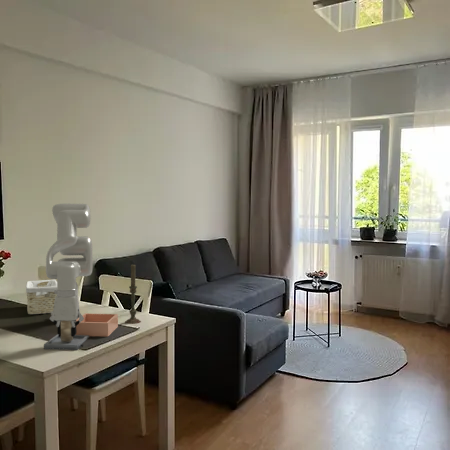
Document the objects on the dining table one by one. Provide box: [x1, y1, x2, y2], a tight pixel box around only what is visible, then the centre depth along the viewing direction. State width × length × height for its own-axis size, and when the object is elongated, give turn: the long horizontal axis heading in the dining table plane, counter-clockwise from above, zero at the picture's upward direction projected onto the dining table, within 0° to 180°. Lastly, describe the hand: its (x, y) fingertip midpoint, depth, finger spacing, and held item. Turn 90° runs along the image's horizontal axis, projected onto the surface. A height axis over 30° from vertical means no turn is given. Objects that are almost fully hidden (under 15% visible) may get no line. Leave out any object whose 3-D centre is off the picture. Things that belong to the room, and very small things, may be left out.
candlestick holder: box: [124, 263, 142, 325], centre depth 233 cm, size 9×9×30 cm
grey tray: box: [43, 333, 90, 351], centre depth 201 cm, size 14×14×2 cm
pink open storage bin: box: [75, 312, 119, 337], centre depth 217 cm, size 16×16×7 cm
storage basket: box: [25, 279, 57, 315], centre depth 260 cm, size 24×16×15 cm
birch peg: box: [61, 321, 73, 342], centre depth 200 cm, size 5×5×10 cm
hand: (67, 335), depth 201 cm, fingers closed on birch peg, 4 cm apart
